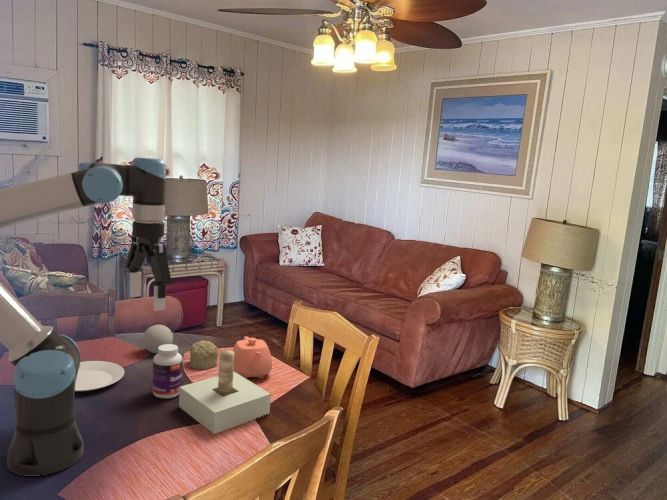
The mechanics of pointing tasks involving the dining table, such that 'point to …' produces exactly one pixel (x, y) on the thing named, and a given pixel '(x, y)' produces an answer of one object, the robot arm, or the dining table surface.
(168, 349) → the pill bottle
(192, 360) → the decorative object
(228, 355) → the dowel
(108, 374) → the plate
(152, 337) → the ball
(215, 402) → the bore block
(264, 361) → the teapot
